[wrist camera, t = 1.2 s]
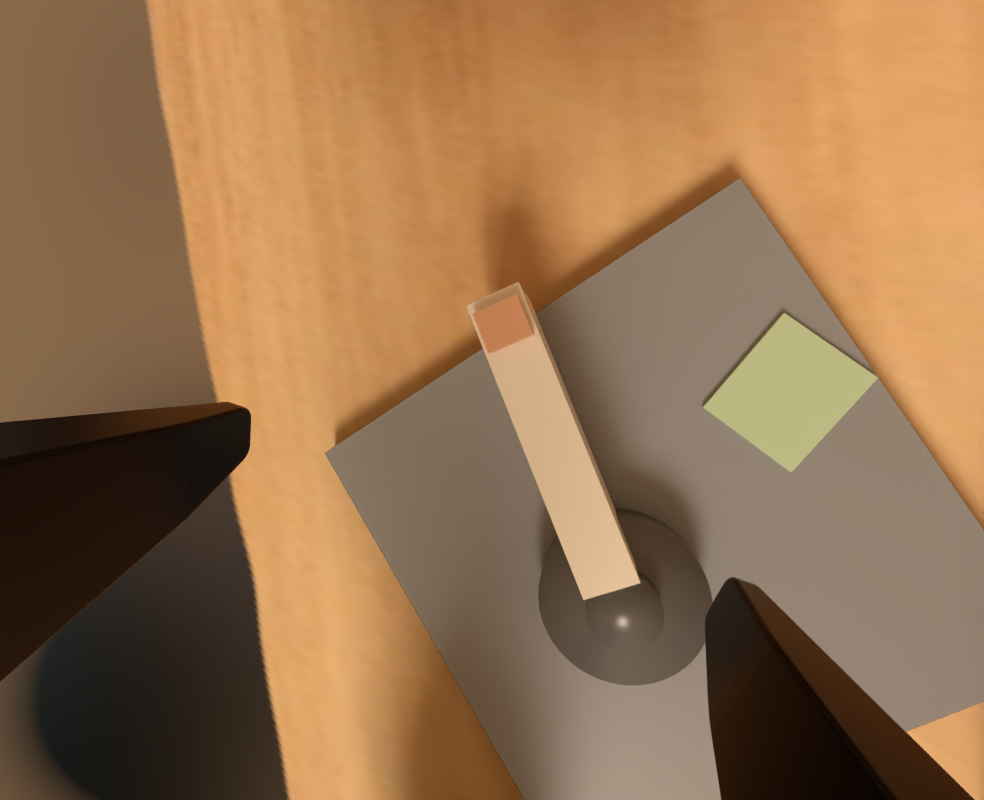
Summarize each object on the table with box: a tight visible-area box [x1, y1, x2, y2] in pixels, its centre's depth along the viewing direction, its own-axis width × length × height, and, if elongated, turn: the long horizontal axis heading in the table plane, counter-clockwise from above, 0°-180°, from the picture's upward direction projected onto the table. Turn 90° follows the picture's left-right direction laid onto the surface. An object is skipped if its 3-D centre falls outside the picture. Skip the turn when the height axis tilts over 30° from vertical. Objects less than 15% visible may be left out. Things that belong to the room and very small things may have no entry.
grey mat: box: [325, 178, 984, 800], centre depth 21 cm, size 23×23×1 cm
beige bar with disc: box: [466, 282, 712, 686], centre depth 19 cm, size 17×7×4 cm, turn 23°
